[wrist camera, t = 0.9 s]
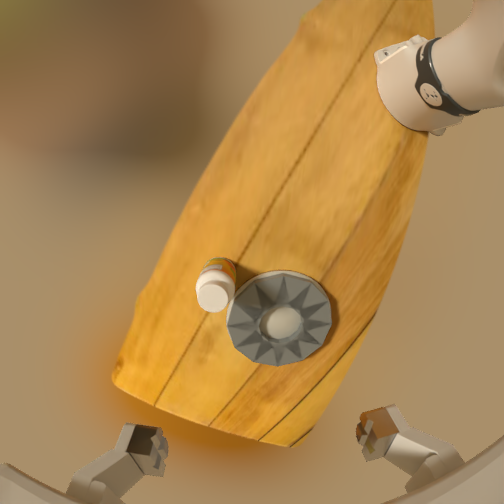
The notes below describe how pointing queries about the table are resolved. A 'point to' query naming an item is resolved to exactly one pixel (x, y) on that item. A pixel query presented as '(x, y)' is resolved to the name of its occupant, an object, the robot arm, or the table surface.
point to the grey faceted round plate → (279, 317)
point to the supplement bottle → (216, 284)
